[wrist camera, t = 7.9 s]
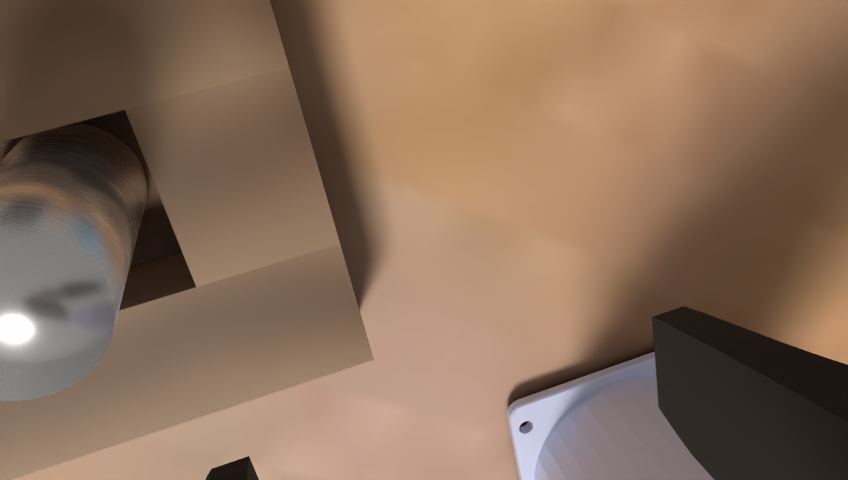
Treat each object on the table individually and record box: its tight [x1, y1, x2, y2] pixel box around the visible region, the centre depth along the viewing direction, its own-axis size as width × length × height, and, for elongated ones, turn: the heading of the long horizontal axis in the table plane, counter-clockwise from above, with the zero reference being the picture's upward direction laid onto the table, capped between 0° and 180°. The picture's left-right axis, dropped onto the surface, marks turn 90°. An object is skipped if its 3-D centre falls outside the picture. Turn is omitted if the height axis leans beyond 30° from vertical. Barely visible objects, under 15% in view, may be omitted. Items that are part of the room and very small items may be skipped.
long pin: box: [0, 123, 148, 401], centre depth 15 cm, size 3×3×7 cm
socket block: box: [0, 0, 374, 480], centre depth 17 cm, size 12×12×2 cm
